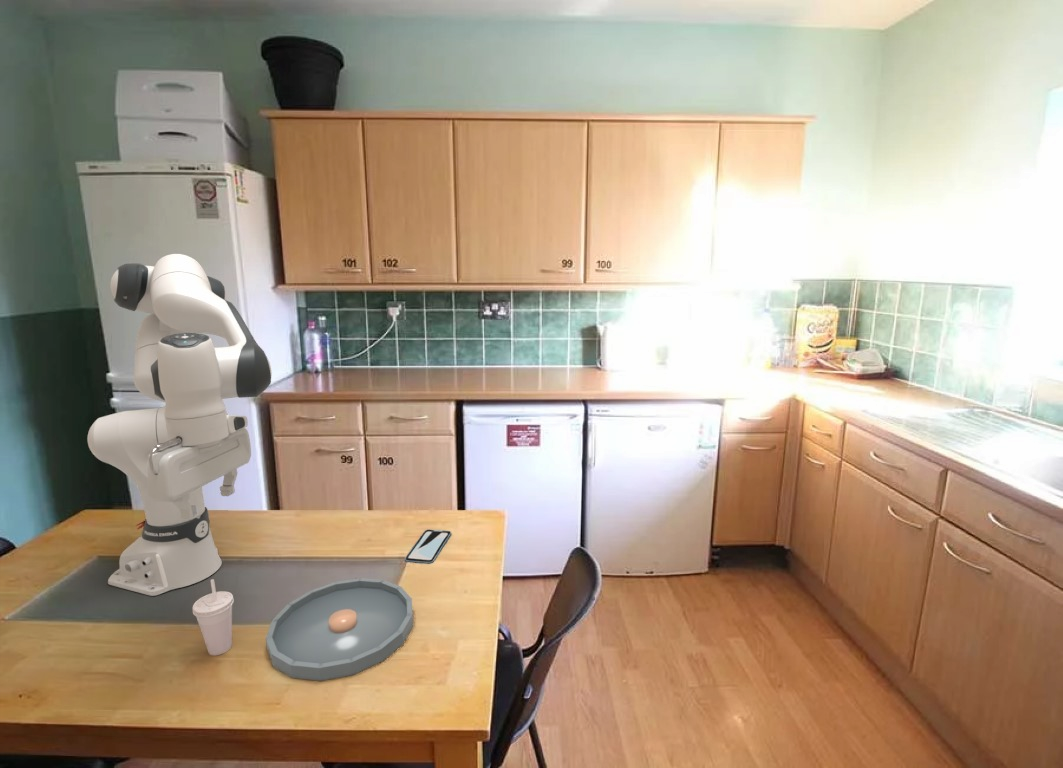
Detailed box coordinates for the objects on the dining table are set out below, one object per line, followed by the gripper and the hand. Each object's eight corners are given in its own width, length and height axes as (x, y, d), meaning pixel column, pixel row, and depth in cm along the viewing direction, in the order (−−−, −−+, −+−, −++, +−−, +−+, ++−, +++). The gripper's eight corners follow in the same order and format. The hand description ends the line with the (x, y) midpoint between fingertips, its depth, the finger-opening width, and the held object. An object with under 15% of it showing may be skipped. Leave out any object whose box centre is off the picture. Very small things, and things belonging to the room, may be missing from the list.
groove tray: (236, 671, 91) (234, 659, 91) (317, 585, 117) (315, 574, 116) (379, 687, 88) (378, 674, 87) (430, 593, 113) (430, 583, 112)
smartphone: (402, 560, 125) (425, 529, 140) (403, 564, 126) (425, 532, 140) (432, 562, 124) (452, 531, 139) (432, 566, 124) (452, 534, 139)
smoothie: (222, 663, 94) (210, 592, 91) (191, 658, 95) (179, 588, 92) (247, 638, 100) (238, 571, 97) (218, 634, 101) (208, 568, 98)
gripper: (166, 448, 80) (180, 533, 83) (253, 414, 100) (262, 484, 102) (129, 447, 81) (143, 532, 83) (222, 414, 101) (232, 483, 103)
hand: (209, 505), depth 93 cm, fingers open, 8 cm apart
